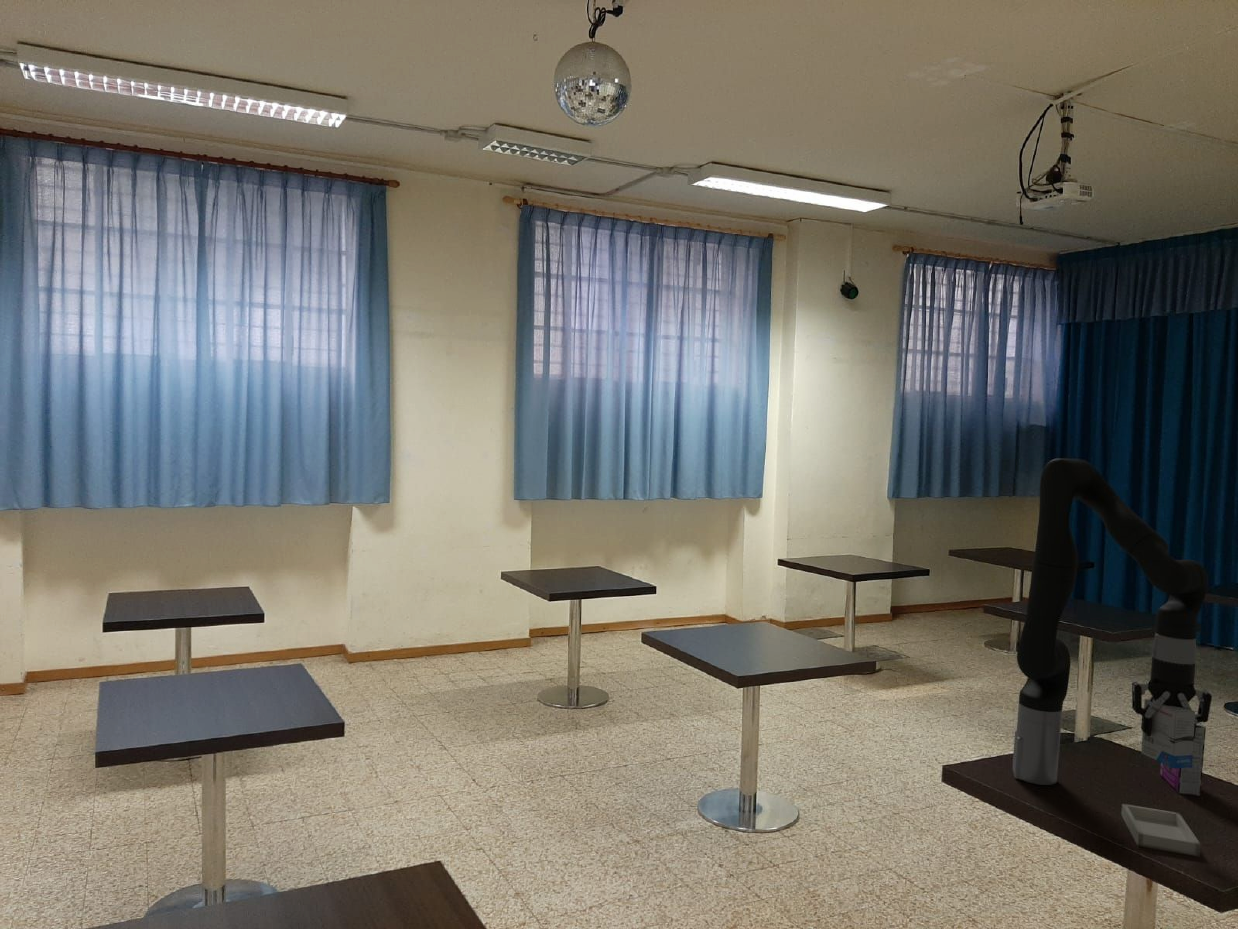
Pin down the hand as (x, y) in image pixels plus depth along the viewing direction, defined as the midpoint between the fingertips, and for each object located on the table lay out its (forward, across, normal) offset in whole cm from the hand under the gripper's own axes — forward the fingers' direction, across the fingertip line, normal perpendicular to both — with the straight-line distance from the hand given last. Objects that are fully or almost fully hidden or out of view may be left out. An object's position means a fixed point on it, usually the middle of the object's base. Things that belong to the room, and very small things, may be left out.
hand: (1167, 737), depth 180 cm
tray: (+20, -1, -1) cm, 20 cm away
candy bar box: (+20, +11, +30) cm, 38 cm away
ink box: (+5, 0, 0) cm, 5 cm away
